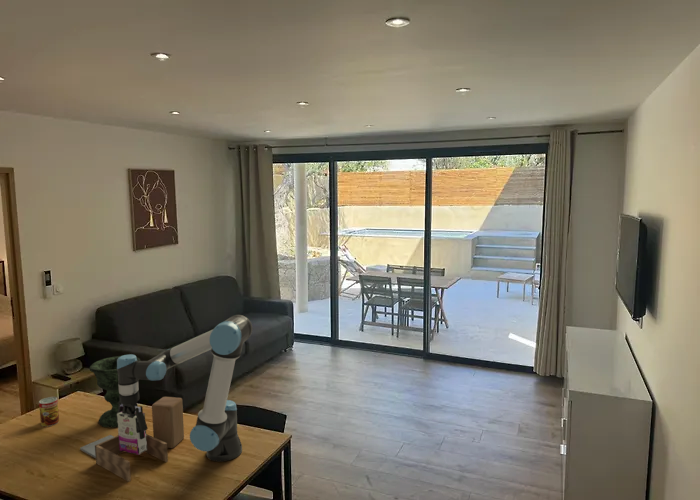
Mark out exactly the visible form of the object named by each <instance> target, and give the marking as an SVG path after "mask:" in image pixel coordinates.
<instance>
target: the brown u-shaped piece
mask: <svg viewBox="0 0 700 500" xmlns="http://www.w3.org/2000/svg"><path fill="white" fill-rule="evenodd" d="M146 438H147V450H146V451H145V452H144V453H146V454H148V455H150V456H153V457H154V458H157V459H159V460H161V461H163V462H165V463H167V462H168V461H169V457H168V448H167V443H165V442H163V441H161V440H159V439H156V438H154V436H153V435H150V434H147V433H146ZM122 453H125V452H124V451H120V448H119V436H118V435H116V436H114V437H113V438H111V439H109V440H106V441H104V442H102V443H99V444H97V445H95V455H96V458H95V463H96V464H97V465H98V466H99V467H101V468H103V469H105V470H107V471H109V472H111V473H113V474H114V475H116V476H117V477H119V478H121V479H123V480H124V481H126V482H131V481H132V477H131V462H130V460H128V459H125V458H124V457H122V456H120V454H122Z"/></svg>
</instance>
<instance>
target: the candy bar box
mask: <svg viewBox="0 0 700 500" xmlns="http://www.w3.org/2000/svg"><path fill="white" fill-rule="evenodd" d="M135 414H136V413H135ZM143 414H144V418H145V419H146V413H145V412H143ZM117 422H118V427H117V433H118V435H117V436H119V448H120V451H124V452H123V453H128V454H133V455H138V456H139V455H141V454H143V453H146V452H145V451H146V450H147V438H146V434H147V430H145V431H144V435H145V445H143V446H141V447H138V440H137V431H138V430H137V427H136V423H137V422H138V420H137V416H134V417H131V416H130V415H129V414H127V413H124V414H123V413H122V412H120V413H118V414H117Z"/></svg>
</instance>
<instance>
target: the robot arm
mask: <svg viewBox="0 0 700 500" xmlns="http://www.w3.org/2000/svg"><path fill="white" fill-rule="evenodd" d="M252 333H253V323H252V322H251V320H250V319H249V318H248V317H247V316H244V315H242V314H235V315H232V316H230V317H229V318H227V319H226V320H224V321H222V322H220V323H218V324H216V326H215V327H214V328H213V329H211V330H209V331H207V332H205V333H204V332H203V333H202V334H199V335H197V336H196V337H193V338H191V339H189V340H187V341H185V342H182V343H180V344H177V345H176V346H173V347H171V348H168V349H167V348H166V349H165V350H164V351H162V352H160V353H159V354H158V355H156V356H154V357H151V359H149V360H141V361H137V358H138V357H137V356H136V355H135V354H132V353H131V354H130V353H129V354H124V355H120V356H121V357H119V358H118V359H117V372H118V381H119V382H118V383H119V384H118V386H119V393H120V395H119V397H120V401H119V402H118V412H117V414H118V413H120V412H122V413H123V414H124V413H127V414H129V415H130V416H131V417H134V416H137V420H138V422H137V423H136V427H137V430H138V431H137V440H138V447H141V446H143V445H145V435H144V431H145V430H146V431H147V430H148V425H147V422H146V417H145V418H144V414H143V413H144V411H143V406H141V405H140V406H139V405H138V401H140V391H139V380H140V381H141V380H143V381H161V380H162V379H164V377H165V375H166V373H167V371H168V370H169V369H171V368H172V367H173V368H174V367H175V366H177V365H179V364H182V363H184V362H186V361H188V360H191V359H192V358H196V357H197V356H199V355H201V354H204V353H206V352H209V351H210V353H211V354H212V355H213V359H212V365H211V368H210V375H209V377H208V378H209V379H208V382H207V383H208V384H207V389H206V393H205V398H204V403H203V408H202V409H201V410H199V411H198V414H197V416H196V417H197V418H196V422H195V423H196V424H195V426H194V427H192V429H191V430H190V433H189V440H190V442H191V444H192V445H193V446H194V448H195V449H197V450H199V451H202V452H206V457H207V459H209V460H210V461H212V462H228V461H231V460H234V459H237V458H238V457H239V456H240V455H241V454H242V452H243V445H242V442H241V440H240V437H239V434H238V415H237V414H238V411H237V410H238V408H237V404H236V402H235V401H233V400H230V399H228V396H229V393H230V389H231V387H230V386H231V384H232V383H231V382H232V379H233V374H234V370H235V365H236V364H235V363H236V360H237V359H239V358H240V357H241V354H242V350H243V346H244V344H245V342H246V341H247V340H248V339H250V337H251V336H252ZM136 357H137V358H136ZM135 413H136V414H135ZM116 421H117V418H116Z"/></svg>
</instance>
